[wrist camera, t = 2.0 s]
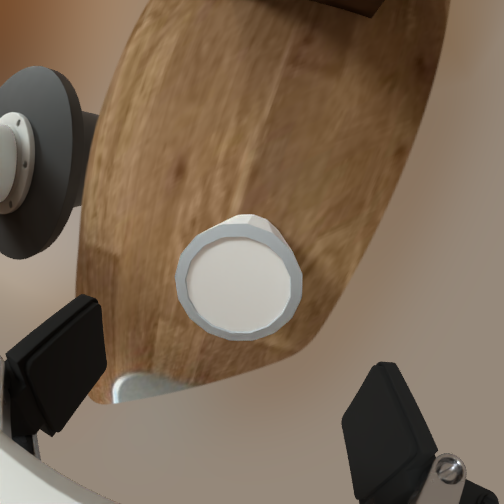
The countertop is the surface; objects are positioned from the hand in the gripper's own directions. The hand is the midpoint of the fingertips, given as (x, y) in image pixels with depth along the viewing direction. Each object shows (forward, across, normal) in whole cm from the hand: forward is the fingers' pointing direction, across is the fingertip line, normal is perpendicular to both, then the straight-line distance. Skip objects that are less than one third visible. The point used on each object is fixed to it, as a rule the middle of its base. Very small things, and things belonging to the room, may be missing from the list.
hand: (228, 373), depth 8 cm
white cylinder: (+14, +1, 0) cm, 14 cm away
